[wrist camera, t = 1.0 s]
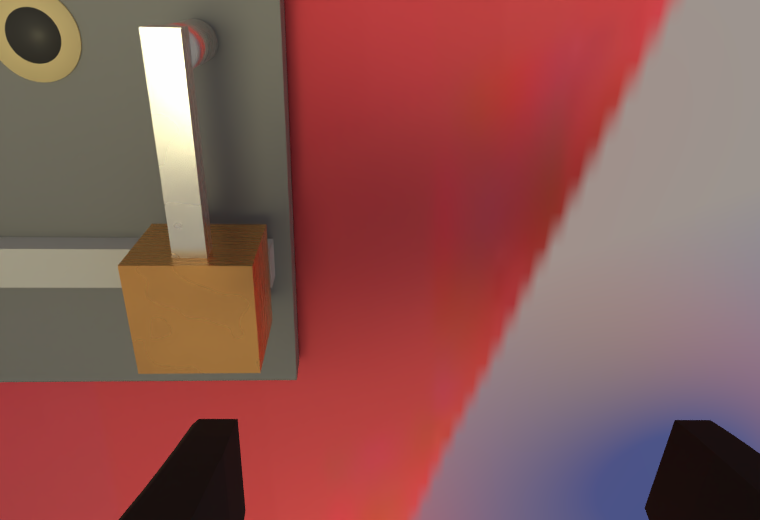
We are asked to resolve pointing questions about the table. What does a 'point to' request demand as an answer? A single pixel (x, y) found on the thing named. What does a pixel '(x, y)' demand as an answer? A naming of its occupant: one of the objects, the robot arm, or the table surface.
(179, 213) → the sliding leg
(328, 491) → the table surface
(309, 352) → the table surface
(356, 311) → the table surface
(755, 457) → the robot arm
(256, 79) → the plate
